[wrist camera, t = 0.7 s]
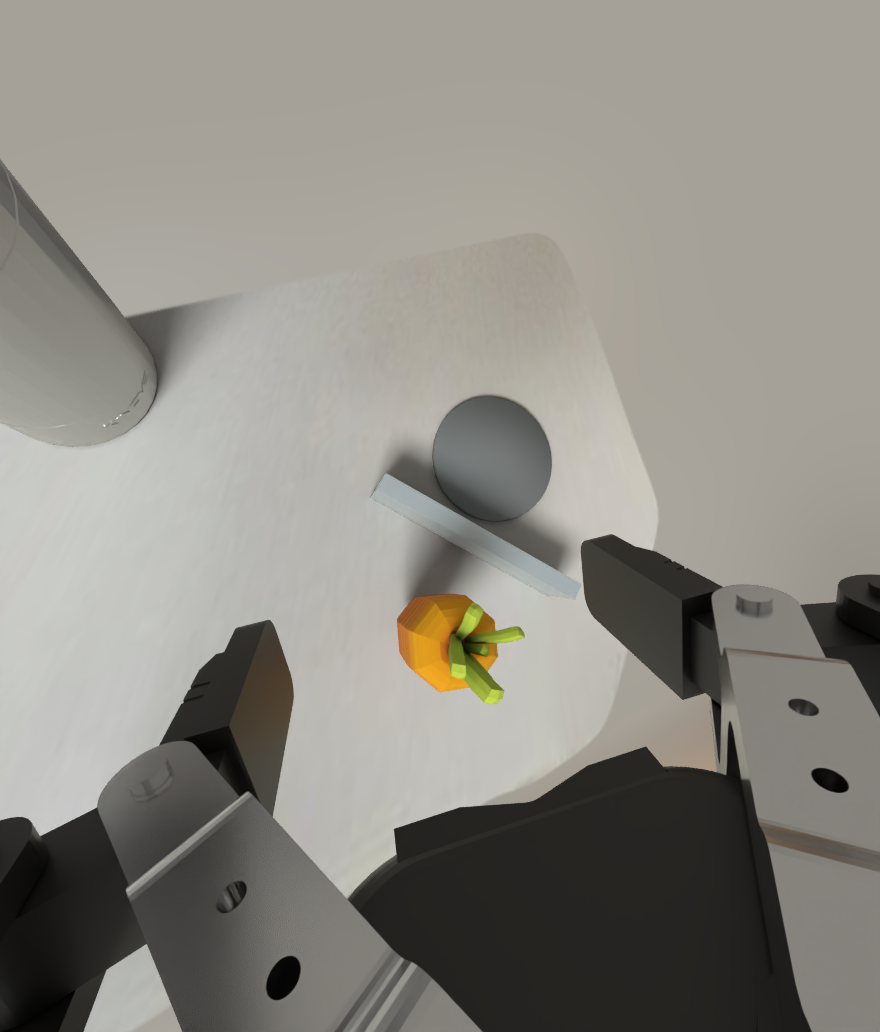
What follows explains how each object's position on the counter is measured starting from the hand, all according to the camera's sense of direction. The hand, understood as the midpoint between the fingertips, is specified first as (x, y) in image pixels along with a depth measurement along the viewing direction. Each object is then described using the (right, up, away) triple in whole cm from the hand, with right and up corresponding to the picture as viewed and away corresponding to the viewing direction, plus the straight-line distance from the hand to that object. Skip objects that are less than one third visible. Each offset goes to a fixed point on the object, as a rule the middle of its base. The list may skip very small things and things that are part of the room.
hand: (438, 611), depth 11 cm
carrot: (-2, -5, +21) cm, 22 cm away
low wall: (+2, 0, +23) cm, 23 cm away
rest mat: (+4, +7, +24) cm, 25 cm away
